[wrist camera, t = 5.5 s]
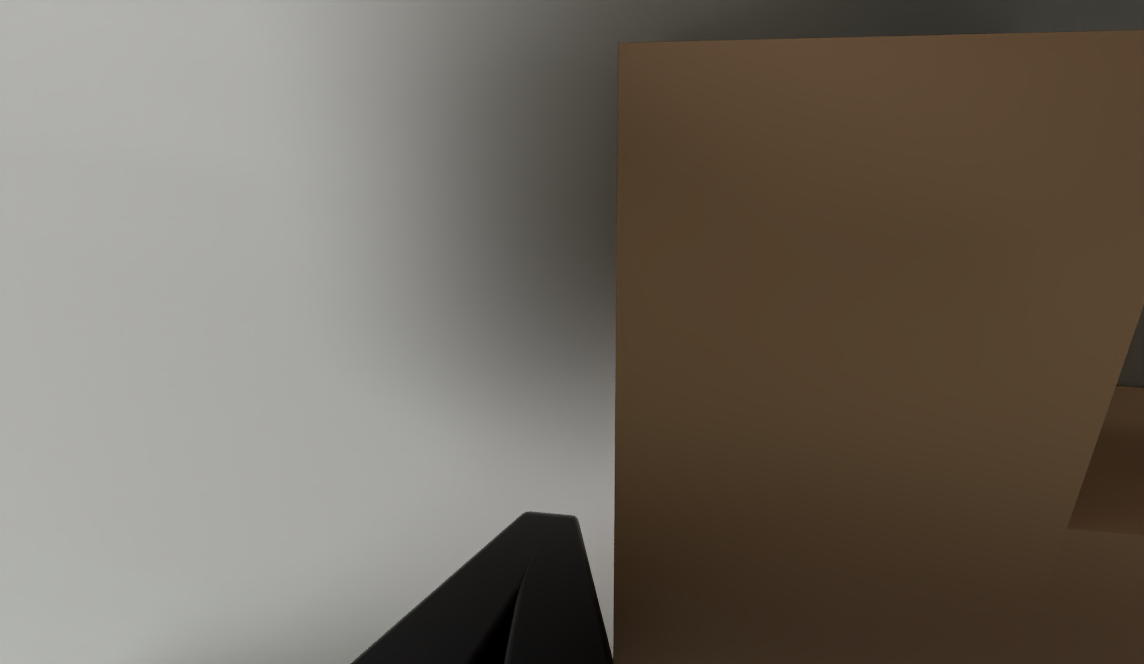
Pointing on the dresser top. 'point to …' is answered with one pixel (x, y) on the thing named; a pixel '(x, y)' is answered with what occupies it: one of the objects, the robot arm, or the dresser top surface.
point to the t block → (879, 350)
